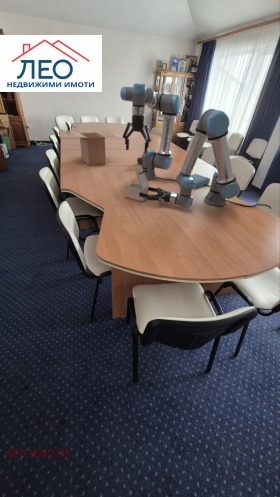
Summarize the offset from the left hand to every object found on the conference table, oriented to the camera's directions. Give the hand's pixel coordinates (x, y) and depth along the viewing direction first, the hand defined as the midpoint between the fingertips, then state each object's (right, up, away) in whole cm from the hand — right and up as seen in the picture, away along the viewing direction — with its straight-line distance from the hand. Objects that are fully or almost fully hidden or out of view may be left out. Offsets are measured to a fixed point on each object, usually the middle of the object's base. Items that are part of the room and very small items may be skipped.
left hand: (136, 151), depth 148 cm
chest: (0, -27, +19) cm, 33 cm away
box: (-48, +28, +88) cm, 104 cm away
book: (+52, -7, +50) cm, 73 cm away
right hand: (+5, -23, +14) cm, 27 cm away
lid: (+4, -15, +9) cm, 18 cm away
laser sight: (+10, +26, +91) cm, 95 cm away
